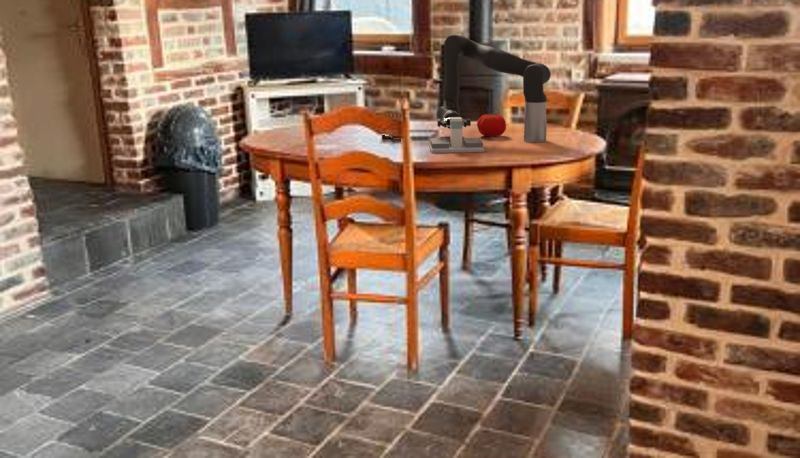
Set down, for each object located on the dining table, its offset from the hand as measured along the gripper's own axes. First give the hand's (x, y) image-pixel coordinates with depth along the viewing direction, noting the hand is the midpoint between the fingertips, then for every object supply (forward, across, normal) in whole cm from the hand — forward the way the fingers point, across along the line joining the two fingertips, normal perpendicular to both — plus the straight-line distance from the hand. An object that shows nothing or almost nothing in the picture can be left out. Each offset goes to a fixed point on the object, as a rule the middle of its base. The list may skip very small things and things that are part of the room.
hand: (455, 124), depth 329 cm
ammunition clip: (-25, -26, +10) cm, 37 cm away
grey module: (+4, 0, +8) cm, 10 cm away
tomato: (-26, +19, +10) cm, 33 cm away
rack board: (+4, 0, +10) cm, 10 cm away
